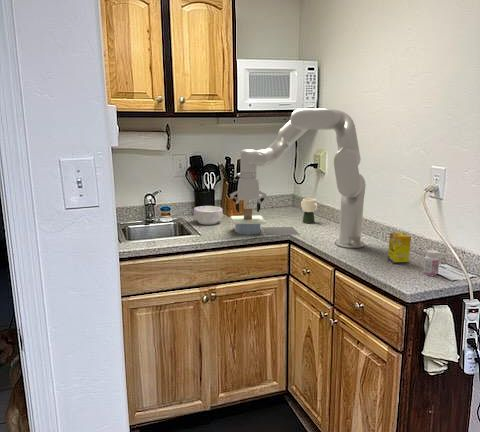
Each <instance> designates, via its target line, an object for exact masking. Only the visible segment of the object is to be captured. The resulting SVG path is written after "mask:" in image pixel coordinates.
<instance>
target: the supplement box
mask: <svg viewBox="0 0 480 432" xmlns="http://www.w3.org/2000/svg"><path fill="white" fill-rule="evenodd" d="M388 241H389V242H388V253H387V254H388V255H387V260H388V261H390V262H391V263H392V264H393V265H408V264H410V262H409V261H410V253H411V252H410V249H411V241H412V236H410V235H409V234H407V233H405V232H390V233H389V240H388Z"/></svg>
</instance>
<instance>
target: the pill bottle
mask: <svg viewBox="0 0 480 432" xmlns="http://www.w3.org/2000/svg"><path fill="white" fill-rule="evenodd" d="M439 256H440V251H438V250H435V249H427V250H426V255H425V257H424V264H423V274H424V273H425V274H427V275H426V276H428V275H436V274H438V275H439V268H440V265H439V264H440V257H439ZM425 274H424V275H425Z"/></svg>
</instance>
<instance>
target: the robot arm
mask: <svg viewBox="0 0 480 432" xmlns="http://www.w3.org/2000/svg"><path fill="white" fill-rule="evenodd" d="M289 118H290V120H288V122H286V123H285V124H284V125H283V126H282V127H281V128H280V129H279V130H278V132H277V133H278V134H277V137H276V139H275V140H274V141H273V142H272V143H271V144H270V145H269V146H268V147H267V148H264V149H258V150H257V149H256V150H255V149H249V148H247V149H245V148H244V149H242V150H241V151H240V172H239V173H237V174H236V176H237V177H239V178H238V181H237V182H238V183H237V190H236V191H233V192H232V193H230V194H229V196H230V198H231V200H232V202H234V203H235V211H236V212H237V213H240V202H241V201H257V202H256V212H258V213H259V212H260V211H261V204H262V203H263V202H264V200H265V199H266V196H267V194H266V193H264V192H263V191H261V190H260V183H259V179H258V178H257V167H265V166H270V165H273V164H274V163H276V162H277V161H278V160H279V159H280V158H281V157H282V156H283V155H284V154H285V153H286V152H288V150H289V149H290V147H292V146H293V144H295V142H296V141H297V140H298V139H300V138H301V137H302V136H303V135H304V134H305V133H306V132H307V131H308V130H322V131H325V130H326V131H328V130H332V131H333V130H334V131H335V135H336V136H335V138H336V146H337V152H336V153H335V155H334V156H333V157H334V158H333V166H334V173H335V174H334V175H335V181H336V182H335V183H336V188H337V190H338V192H339V194H340V195H341V199H340V211H339V225H338V226H339V228H338V230H339V231H338V238H337V239H336V240H334V244H335V245H337V246H338V247H342V248H347V249H351V248H352V249H356V248H357V249H358V248H363V247H364V246H365V242H364V241H363V240H362V229H363V228H362V227H363V218H364V217H363V213H364V201H365V195H366V194H365V193H366V186H367V185H366V180H365V177H364V176H363V175H362V174H360V171H359V165H360V163H361V153H360V148H359V147H360V146H359V141H358V135H357V130H356V125H355V123H354V120H353V119H352V117H351V116H350V115H349V114H348V113H346V112H344V111H342V110H340V109H339V110H338V109H335V108H297V109H295V110H293V112H292V113H291V115H290V117H289ZM236 195H237V198H236V199H235V196H236ZM260 196H262V197H260Z"/></svg>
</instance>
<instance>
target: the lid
mask: <svg viewBox="0 0 480 432" xmlns="http://www.w3.org/2000/svg"><path fill="white" fill-rule="evenodd" d="M230 218H231V220H232V223H233V225H235V224H260V225H265V224H267V221H266V220H265V218H263V216H262V215H253V208H252V207H244V208H243V215H230Z"/></svg>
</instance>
